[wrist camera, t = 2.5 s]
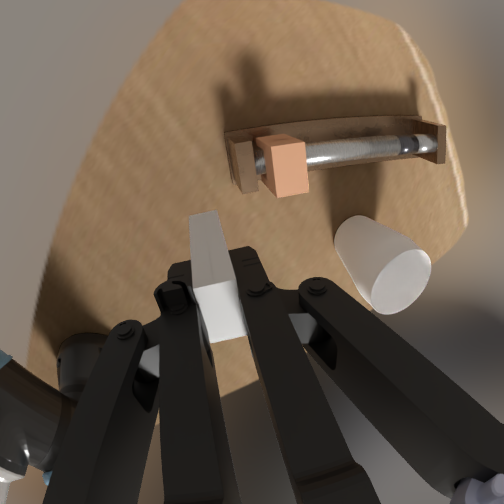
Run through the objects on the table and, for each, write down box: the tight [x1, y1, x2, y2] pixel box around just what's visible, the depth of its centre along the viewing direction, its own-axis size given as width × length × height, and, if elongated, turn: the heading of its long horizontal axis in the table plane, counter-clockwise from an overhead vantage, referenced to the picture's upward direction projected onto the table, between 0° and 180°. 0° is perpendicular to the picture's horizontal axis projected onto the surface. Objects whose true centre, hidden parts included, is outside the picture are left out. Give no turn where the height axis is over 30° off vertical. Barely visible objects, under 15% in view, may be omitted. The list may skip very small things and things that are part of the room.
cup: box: [334, 215, 431, 314], centre depth 36 cm, size 9×9×12 cm
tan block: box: [256, 134, 309, 198], centre depth 28 cm, size 3×5×6 cm, turn 8°
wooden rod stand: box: [224, 115, 446, 194], centre depth 32 cm, size 27×6×6 cm, turn 98°
